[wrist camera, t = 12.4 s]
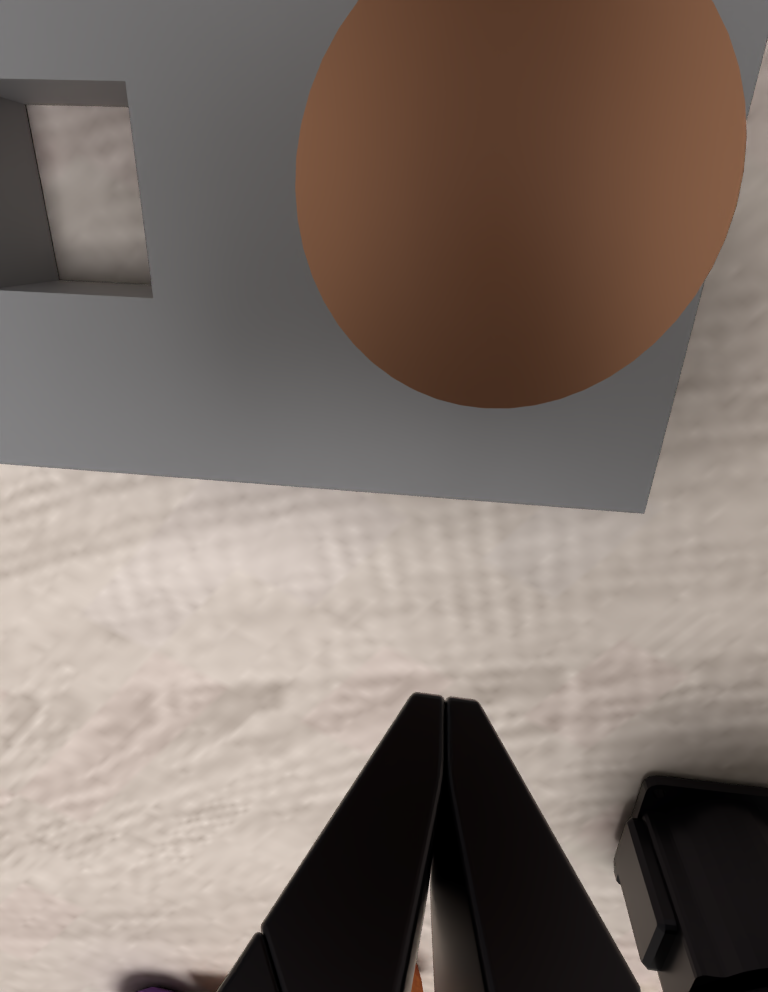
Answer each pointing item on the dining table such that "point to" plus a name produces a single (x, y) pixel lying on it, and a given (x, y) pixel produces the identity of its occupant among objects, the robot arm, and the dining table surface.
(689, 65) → the mahogany dowel
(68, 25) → the charcoal board
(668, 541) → the dining table surface
